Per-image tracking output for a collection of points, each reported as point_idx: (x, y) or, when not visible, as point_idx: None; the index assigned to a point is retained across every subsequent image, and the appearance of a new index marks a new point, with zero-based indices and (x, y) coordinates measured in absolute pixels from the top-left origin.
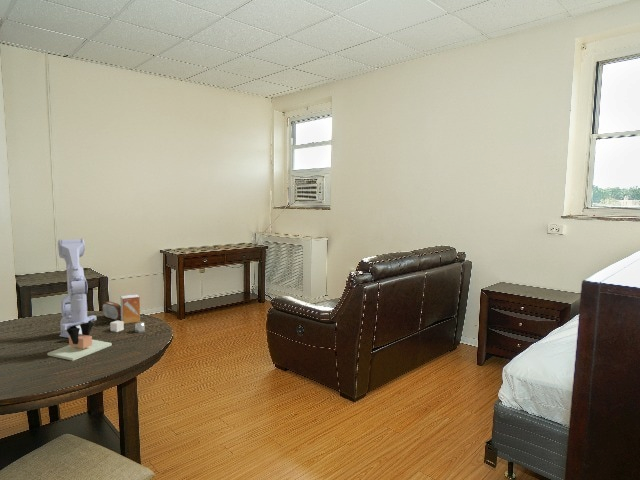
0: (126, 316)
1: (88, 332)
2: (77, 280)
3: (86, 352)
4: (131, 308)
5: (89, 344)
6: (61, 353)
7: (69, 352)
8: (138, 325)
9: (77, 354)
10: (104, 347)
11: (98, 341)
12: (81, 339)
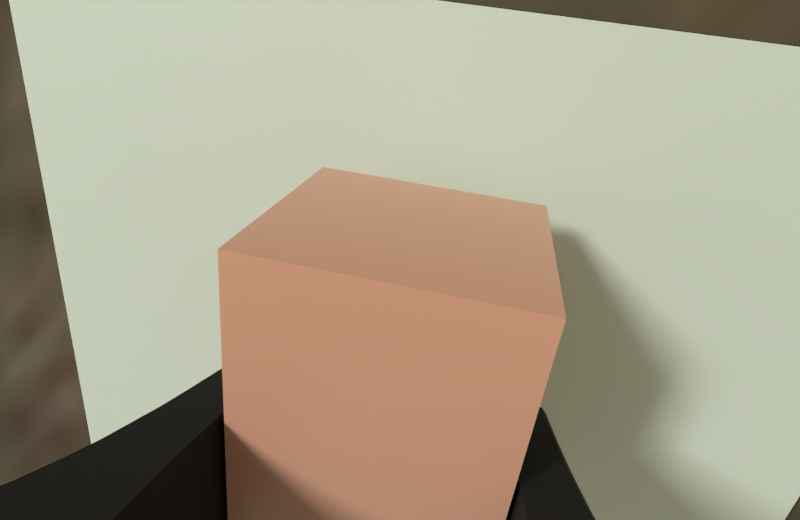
0: None
1: (136, 457)
2: None
3: (625, 53)
4: None
5: (380, 189)
6: (731, 464)
7: (665, 377)
8: None
9: (773, 161)
10: None
11: (84, 260)
12: (547, 371)
